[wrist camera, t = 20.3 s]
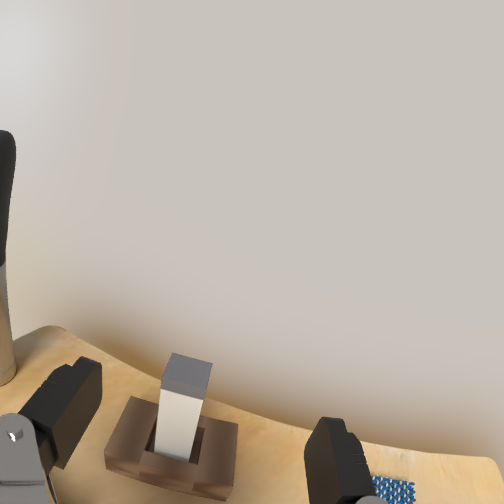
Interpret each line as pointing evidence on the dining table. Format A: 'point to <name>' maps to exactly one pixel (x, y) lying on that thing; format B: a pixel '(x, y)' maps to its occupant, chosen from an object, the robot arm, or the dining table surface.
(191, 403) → the grey-capped white post
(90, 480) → the dining table surface
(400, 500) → the woven mat
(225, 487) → the brown square socket block
